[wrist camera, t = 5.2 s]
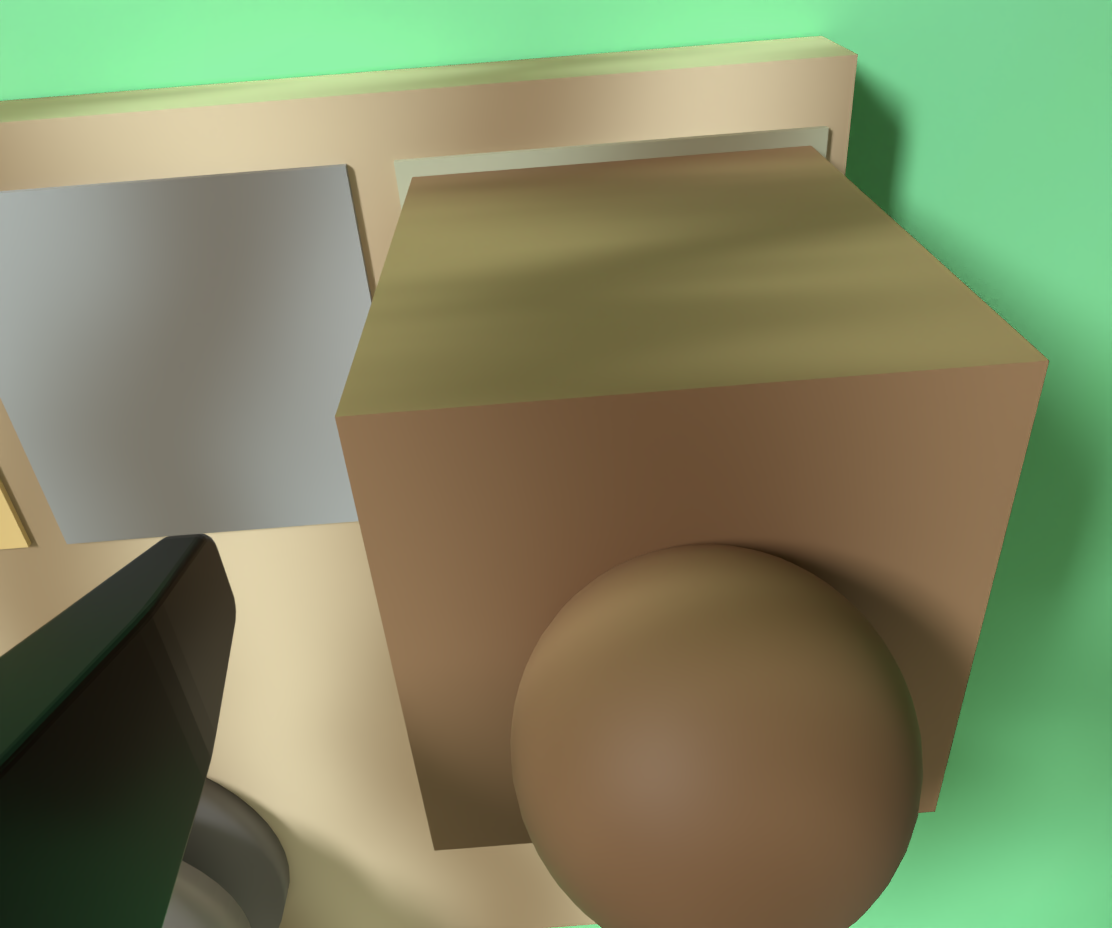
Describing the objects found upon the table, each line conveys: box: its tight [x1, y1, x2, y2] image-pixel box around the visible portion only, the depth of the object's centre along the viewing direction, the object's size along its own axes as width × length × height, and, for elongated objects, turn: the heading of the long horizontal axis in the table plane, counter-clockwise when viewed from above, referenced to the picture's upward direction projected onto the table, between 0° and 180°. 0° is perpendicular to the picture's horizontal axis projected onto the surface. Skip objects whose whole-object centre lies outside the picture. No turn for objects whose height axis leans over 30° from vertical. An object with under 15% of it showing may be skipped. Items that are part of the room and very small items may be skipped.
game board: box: [0, 36, 858, 928], centre depth 15 cm, size 24×18×4 cm
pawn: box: [335, 146, 1049, 928], centre depth 9 cm, size 5×5×8 cm
